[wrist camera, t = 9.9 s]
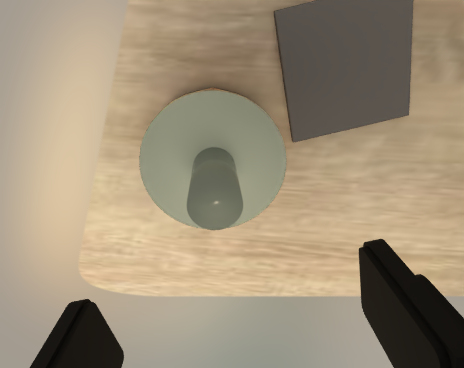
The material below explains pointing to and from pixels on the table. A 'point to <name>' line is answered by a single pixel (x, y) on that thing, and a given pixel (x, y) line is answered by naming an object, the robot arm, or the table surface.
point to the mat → (344, 63)
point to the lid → (212, 159)
